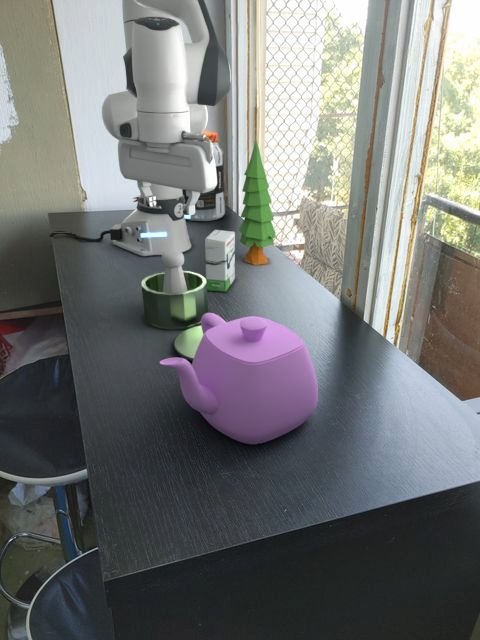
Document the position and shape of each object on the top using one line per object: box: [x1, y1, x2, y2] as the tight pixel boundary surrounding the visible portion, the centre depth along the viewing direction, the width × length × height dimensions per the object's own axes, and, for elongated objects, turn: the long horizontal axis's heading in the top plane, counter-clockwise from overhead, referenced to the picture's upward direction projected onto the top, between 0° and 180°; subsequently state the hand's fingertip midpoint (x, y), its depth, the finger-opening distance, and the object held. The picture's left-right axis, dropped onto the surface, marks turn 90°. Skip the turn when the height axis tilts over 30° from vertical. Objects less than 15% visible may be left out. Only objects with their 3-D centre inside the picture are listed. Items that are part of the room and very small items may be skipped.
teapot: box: [159, 312, 319, 445], centre depth 74 cm, size 23×21×15 cm
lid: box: [174, 325, 203, 362], centre depth 94 cm, size 14×14×5 cm
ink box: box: [204, 229, 236, 293], centre depth 119 cm, size 9×5×12 cm, turn 168°
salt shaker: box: [161, 251, 188, 293], centre depth 103 cm, size 6×6×13 cm
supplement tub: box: [182, 130, 226, 222], centre depth 168 cm, size 16×16×26 cm
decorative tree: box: [238, 138, 277, 266], centre depth 129 cm, size 10×9×30 cm
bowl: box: [141, 270, 209, 331], centre depth 105 cm, size 13×13×8 cm
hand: (169, 210), depth 96 cm, fingers open, 8 cm apart
